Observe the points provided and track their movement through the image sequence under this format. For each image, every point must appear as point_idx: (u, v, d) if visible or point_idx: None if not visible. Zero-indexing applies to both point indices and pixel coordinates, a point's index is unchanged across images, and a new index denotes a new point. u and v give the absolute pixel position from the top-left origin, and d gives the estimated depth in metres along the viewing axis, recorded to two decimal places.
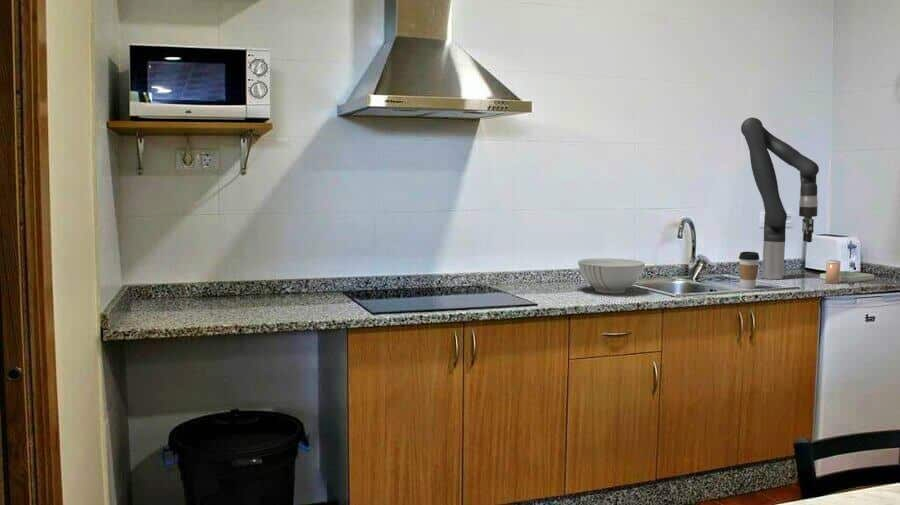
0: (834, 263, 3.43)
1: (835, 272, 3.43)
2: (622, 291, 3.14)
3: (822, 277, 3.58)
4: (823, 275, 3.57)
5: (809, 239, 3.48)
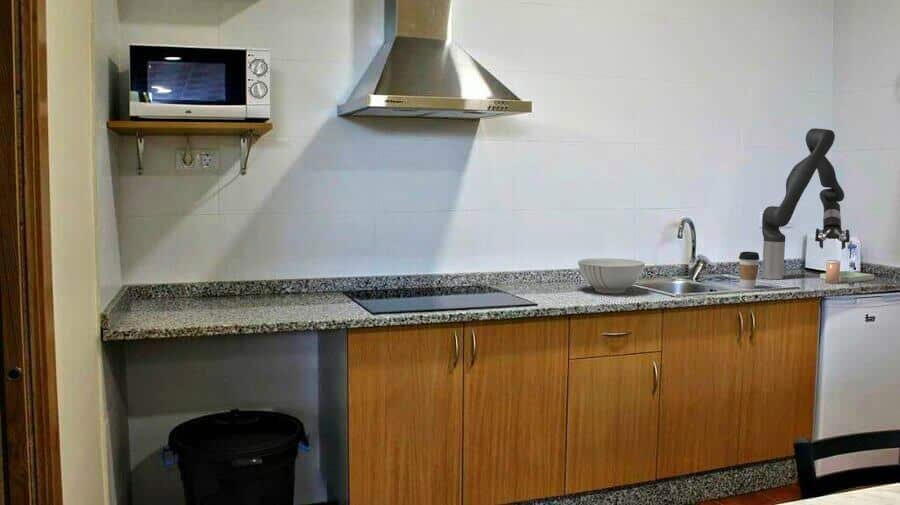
0: (834, 263, 3.43)
1: (835, 272, 3.43)
2: (622, 291, 3.14)
3: (822, 277, 3.58)
4: (823, 275, 3.57)
5: (844, 246, 3.54)
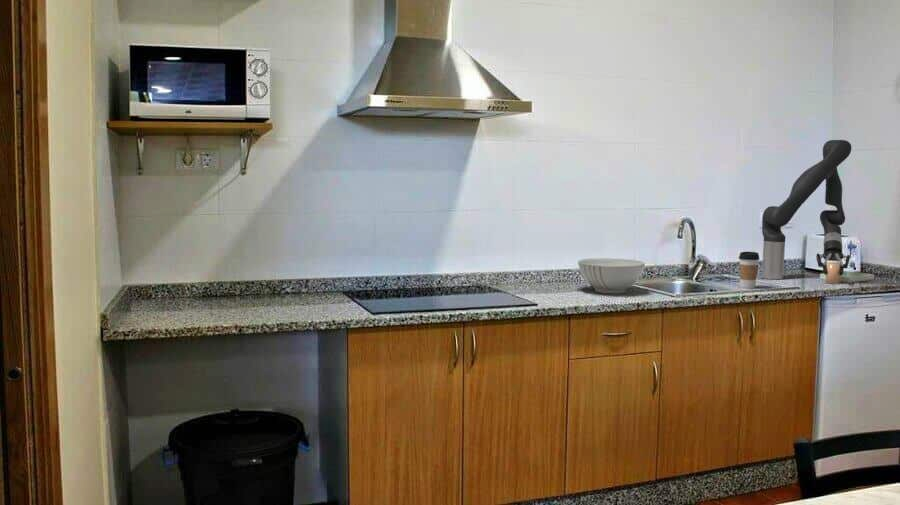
0: (834, 263, 3.43)
1: (835, 272, 3.43)
2: (622, 291, 3.14)
3: (822, 277, 3.58)
4: (823, 275, 3.57)
5: (842, 272, 3.43)
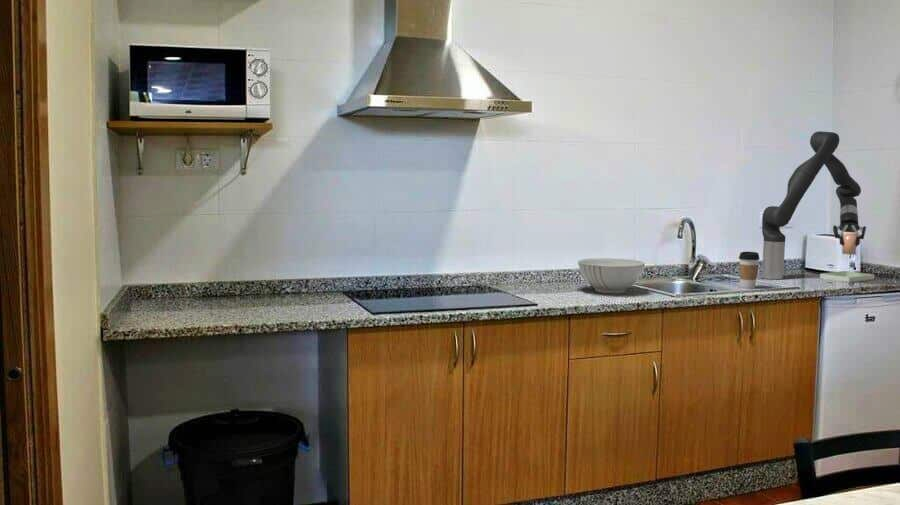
0: (850, 234, 3.53)
1: (852, 242, 3.53)
2: (622, 291, 3.14)
3: (822, 277, 3.58)
4: (823, 275, 3.57)
5: None
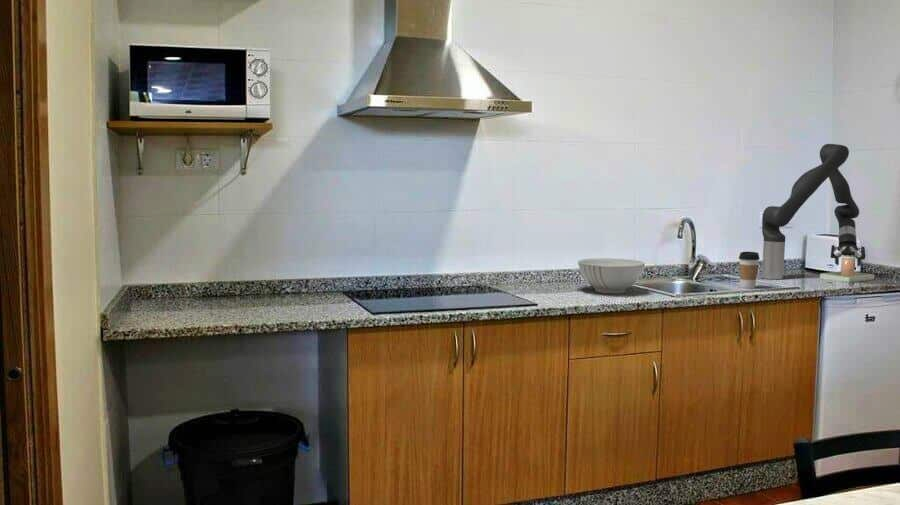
0: (849, 259, 3.55)
1: (850, 267, 3.55)
2: (622, 291, 3.14)
3: (822, 277, 3.58)
4: (823, 275, 3.57)
5: None
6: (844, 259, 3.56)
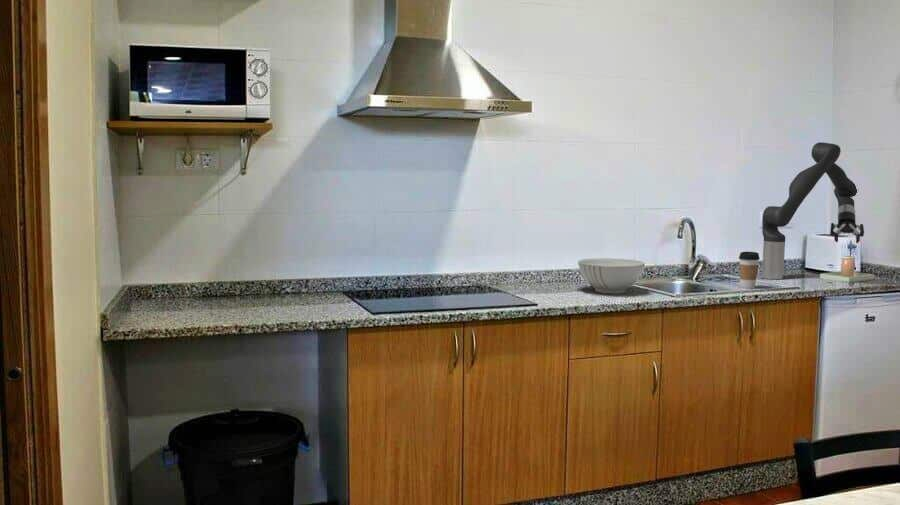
0: (849, 258, 3.55)
1: (850, 267, 3.55)
2: (622, 291, 3.14)
3: (822, 277, 3.58)
4: (823, 275, 3.57)
5: None
6: (844, 259, 3.56)
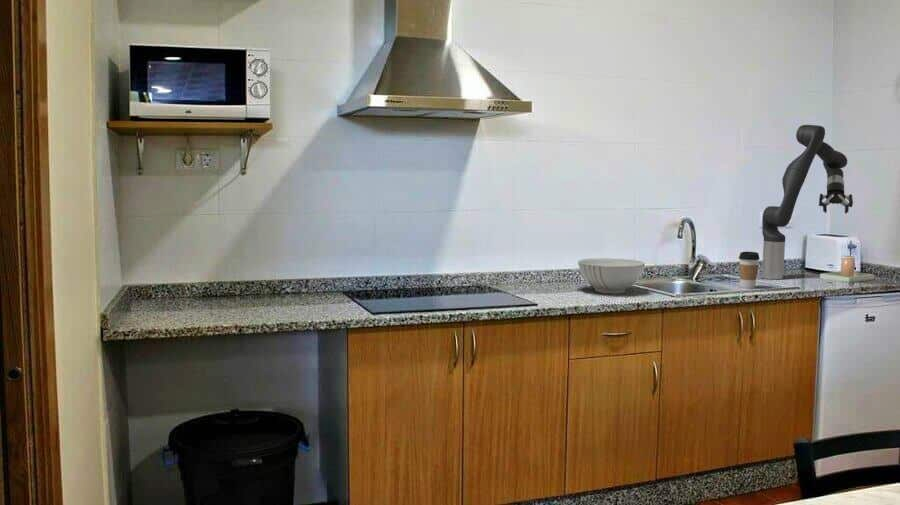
0: (849, 258, 3.55)
1: (850, 267, 3.55)
2: (622, 291, 3.14)
3: (822, 277, 3.58)
4: (823, 275, 3.57)
5: (847, 210, 3.61)
6: (844, 259, 3.56)
